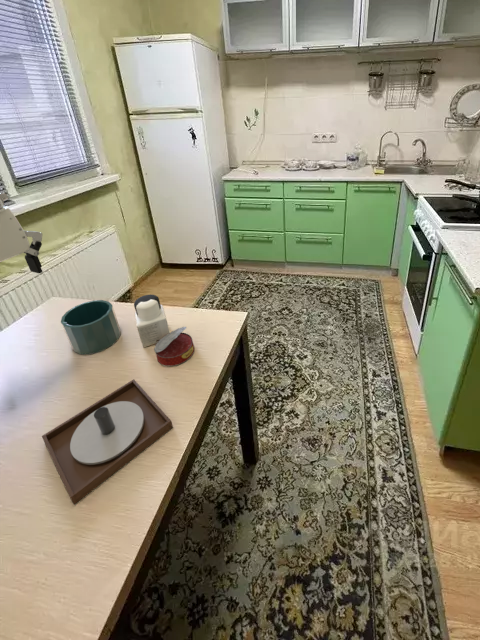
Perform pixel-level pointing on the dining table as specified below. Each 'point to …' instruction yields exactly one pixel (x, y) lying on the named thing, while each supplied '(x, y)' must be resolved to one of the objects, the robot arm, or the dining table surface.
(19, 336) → the dining table surface
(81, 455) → the lid
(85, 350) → the canister
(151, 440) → the tray
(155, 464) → the dining table surface
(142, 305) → the container
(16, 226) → the robot arm
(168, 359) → the canned food
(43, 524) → the dining table surface
